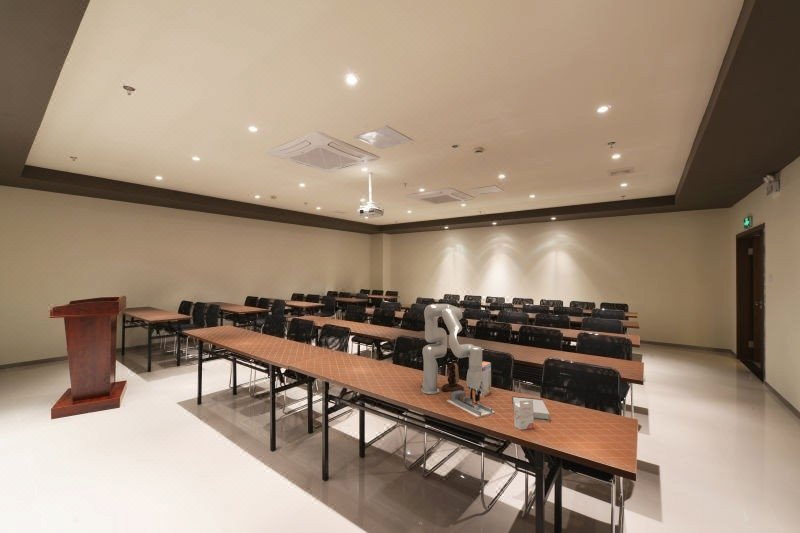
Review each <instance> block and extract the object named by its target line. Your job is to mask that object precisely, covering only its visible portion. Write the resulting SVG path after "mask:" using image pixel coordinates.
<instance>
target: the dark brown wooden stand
mask: <svg viewBox="0 0 800 533" xmlns="http://www.w3.org/2000/svg"><path fill="white" fill-rule="evenodd" d="M459 366H460V364H459V361H457V360H452V361H450V362H449V363H448V364H447V369H448V370H449V373H448V375H449V376H447V382H448V383H445V384H442V386H441V387H442V392H448V393H449V392H450V393H451V392H455V391H460V390H461V391H464V392H465V388H464V385H461V384H459V380H460V375H459V374H460V373H459Z"/></svg>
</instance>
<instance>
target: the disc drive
mask: <svg viewBox="0 0 800 533" xmlns="http://www.w3.org/2000/svg"><path fill="white" fill-rule="evenodd" d="M511 400H512V401H511V402H512V407H513V408H514V404H519V403H520V401H524V400H533V421H538V422H539V421H541V422H548V423H549V422H550V412H549V410H548V408H547V406H546V405H545V403H544V401H543V400H544V399H542V398H541V399H539V398H533V397H531V398H530V397H523V396H522V397H521V396H512V399H511ZM526 403H528V402H526Z"/></svg>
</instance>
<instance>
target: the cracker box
mask: <svg viewBox="0 0 800 533" xmlns="http://www.w3.org/2000/svg"><path fill="white" fill-rule="evenodd" d="M482 372H483V381H484V386H483V389H484V392H482V393H481V394H480V398H481V397H482V398H483V397H484V398H485V397H487V396H489V395H490V394H491V393H492V362H489V361H484V360H482ZM478 391H479V390H478Z"/></svg>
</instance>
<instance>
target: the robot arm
mask: <svg viewBox="0 0 800 533" xmlns="http://www.w3.org/2000/svg"><path fill="white" fill-rule="evenodd" d="M423 316H424V323H425V324H424V340H425V341H426V342H427V343H431V344H427V345H425V346H423V348H422V359H423V379H422V380H423V382H422V383H421V386H422V387H421V389H420V392H421V393H422V394H426V395H437V394H439V393H440V389H439V388H438V373H439V372H438V371H439V370H438V362H437V360H436V359H439V358H444V357H445V356H446V355H447V352H448V351H447V349H448V348H447V346H448V344H449V348H450V349H451V352H452V353H453V355H454V357H455V358H457V359H458V358H459V359H463V358H468V369H467V374H466V382H465V383H466V386H467V387H468V390H469V394H470V395H469V396H470V399H472V389H475V390H476V394H475V401H478V402H479V401H481V396H480V394H481V393H482V392H484V389H483V386H484V381H483V372H482V362H483V348H482V347H481V346H476V345H474V344H472V343H465V344H460V343H459V341H458V338H457V335H458V334H459V333H460V332H461V331H463V330H462V329H463V326H462V324H461V323H460V320H462V318H463V311H462V310H461V309H460V308H459V307H457V306H456V305H455V306H454V305H452V304H449V303H432V304H428V305H426V306H425V309H424V312H423ZM436 317H442V318H441V319H443V322H444V323H445V325H446V327H447V330H448V333H449V335H447V331H446V330H445V329H444V328H442V327H439V326H438V320H437V318H436ZM447 343H448V344H447ZM478 390H479V391H478Z"/></svg>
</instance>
